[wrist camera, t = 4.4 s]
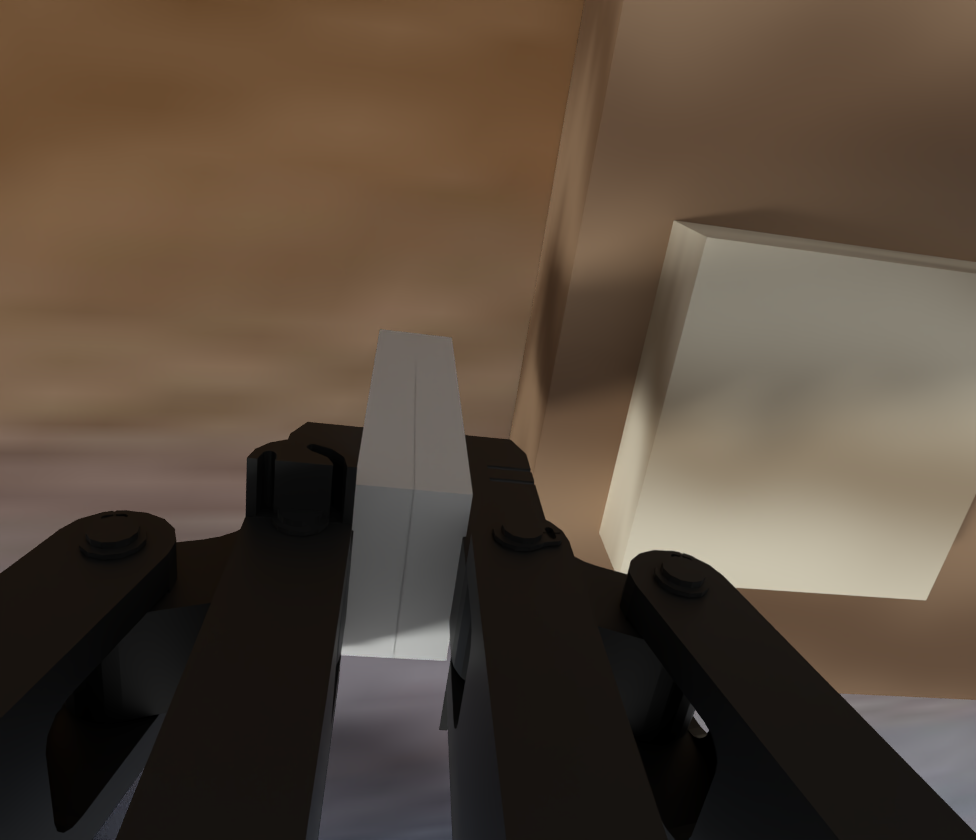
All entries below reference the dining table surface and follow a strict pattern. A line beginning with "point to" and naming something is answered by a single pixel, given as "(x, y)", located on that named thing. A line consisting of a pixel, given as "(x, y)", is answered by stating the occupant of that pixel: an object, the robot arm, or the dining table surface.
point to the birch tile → (801, 415)
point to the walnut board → (754, 207)
